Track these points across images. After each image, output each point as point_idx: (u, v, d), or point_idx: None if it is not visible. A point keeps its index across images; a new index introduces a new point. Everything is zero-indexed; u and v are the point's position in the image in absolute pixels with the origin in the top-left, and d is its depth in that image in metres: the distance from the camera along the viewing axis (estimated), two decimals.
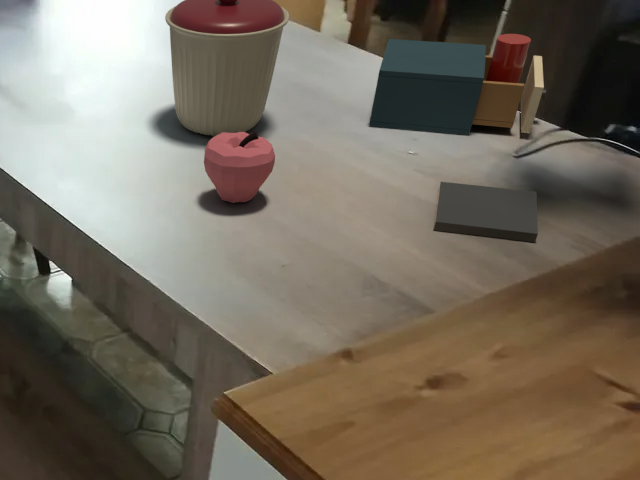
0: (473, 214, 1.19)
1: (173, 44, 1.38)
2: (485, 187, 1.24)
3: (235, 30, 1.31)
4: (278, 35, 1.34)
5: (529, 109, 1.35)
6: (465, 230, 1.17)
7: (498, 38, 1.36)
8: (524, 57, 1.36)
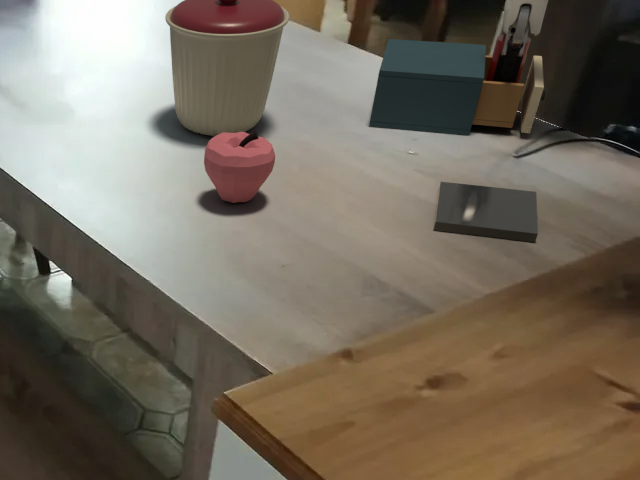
0: (473, 214, 1.19)
1: (173, 44, 1.38)
2: (485, 187, 1.24)
3: (235, 30, 1.31)
4: (278, 35, 1.34)
5: (529, 109, 1.35)
6: (465, 230, 1.17)
7: (498, 38, 1.36)
8: (524, 57, 1.36)
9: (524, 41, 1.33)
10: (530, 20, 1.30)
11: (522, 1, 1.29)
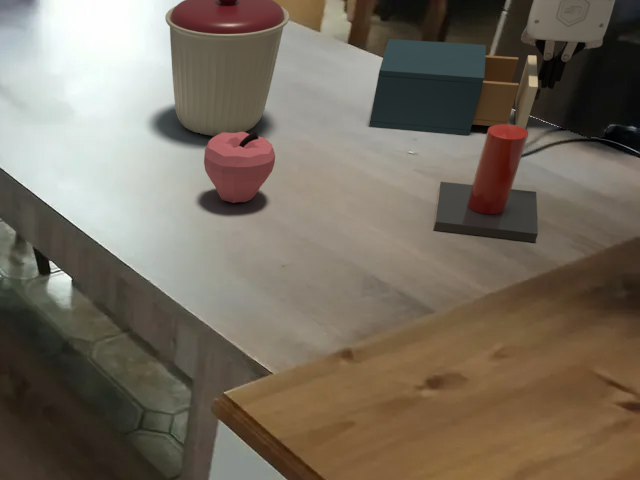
0: (473, 214, 1.19)
1: (173, 44, 1.38)
2: None
3: (235, 30, 1.31)
4: (278, 35, 1.34)
5: (523, 109, 1.35)
6: (465, 230, 1.17)
7: (489, 130, 1.14)
8: (520, 153, 1.14)
9: (545, 45, 1.34)
10: (529, 17, 1.33)
11: None
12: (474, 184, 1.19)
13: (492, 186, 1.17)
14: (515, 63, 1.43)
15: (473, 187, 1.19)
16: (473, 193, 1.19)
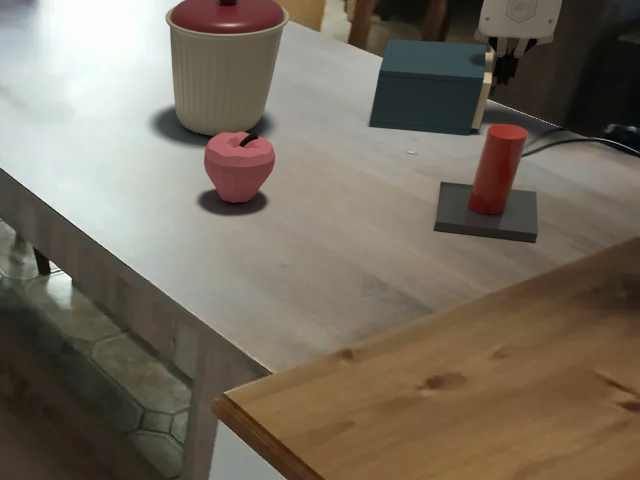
0: (473, 214, 1.19)
1: (173, 44, 1.38)
2: None
3: (235, 30, 1.31)
4: (278, 35, 1.34)
5: (478, 105, 1.37)
6: (465, 230, 1.17)
7: (489, 130, 1.14)
8: (520, 153, 1.14)
9: (497, 42, 1.36)
10: (480, 15, 1.35)
11: None
12: (474, 184, 1.19)
13: (492, 186, 1.17)
14: None
15: (473, 187, 1.19)
16: (473, 193, 1.19)
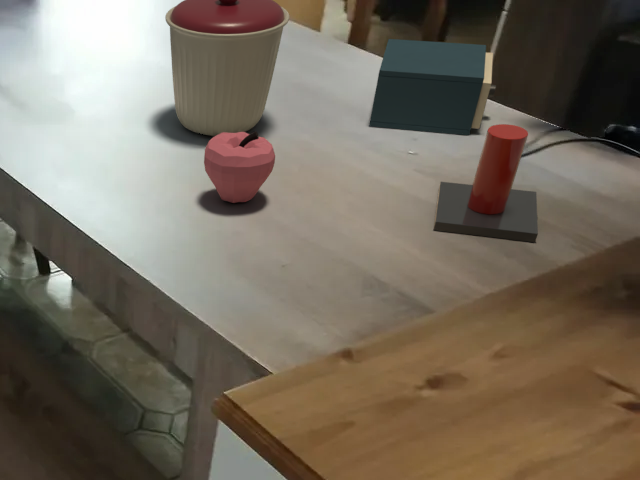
0: (473, 214, 1.19)
1: (173, 44, 1.38)
2: None
3: (235, 30, 1.31)
4: (278, 35, 1.34)
5: (478, 105, 1.37)
6: (465, 230, 1.17)
7: (489, 130, 1.14)
8: (520, 153, 1.14)
9: None
10: None
11: None
12: (474, 184, 1.19)
13: (492, 186, 1.17)
14: None
15: (473, 187, 1.19)
16: (473, 193, 1.19)
